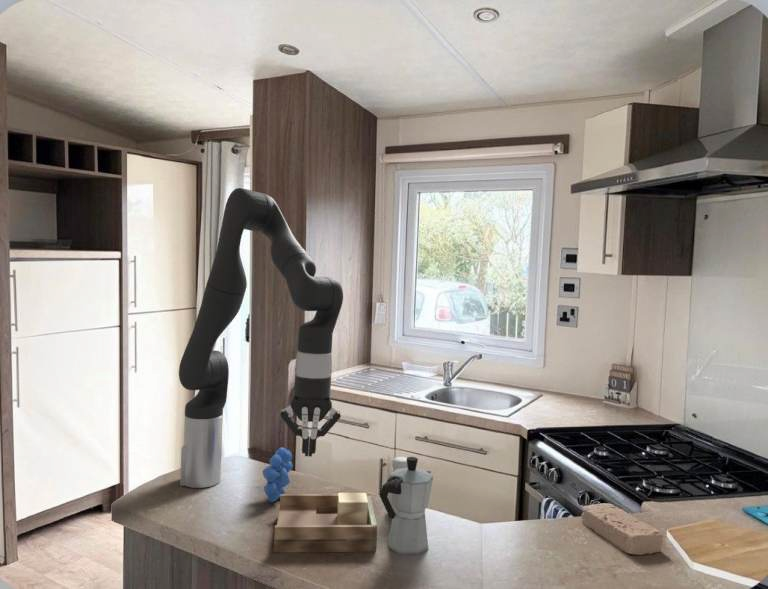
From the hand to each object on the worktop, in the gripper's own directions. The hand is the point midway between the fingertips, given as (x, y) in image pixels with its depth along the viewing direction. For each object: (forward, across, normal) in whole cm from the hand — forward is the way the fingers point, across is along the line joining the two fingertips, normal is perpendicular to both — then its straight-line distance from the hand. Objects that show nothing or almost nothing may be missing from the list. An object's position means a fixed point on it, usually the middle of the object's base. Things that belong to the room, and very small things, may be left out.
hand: (308, 455), depth 116 cm
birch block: (+14, -10, 0) cm, 17 cm away
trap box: (+16, -4, 0) cm, 17 cm away
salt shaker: (+16, -21, -9) cm, 28 cm away
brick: (+16, -69, +2) cm, 71 cm away
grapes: (+17, +8, -18) cm, 26 cm away
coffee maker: (+16, -20, +6) cm, 27 cm away
